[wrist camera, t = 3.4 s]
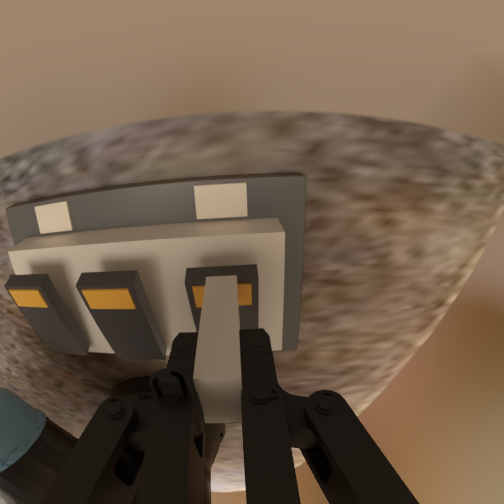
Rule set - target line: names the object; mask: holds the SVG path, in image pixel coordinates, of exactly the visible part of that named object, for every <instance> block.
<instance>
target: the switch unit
mask: <svg viewBox="0 0 504 504" xmlns="http://www.w3.org/2000/svg"><path fill="white" fill-rule="evenodd" d="M305 184H306V176H304V175H303V174H301V173H276V174H247V175H227V176H211V177H197V178H185V179H174V180H163V181H154V182H145V183H136V184H128V185H120V186H113V187H106V188H99V189H92V190H86V191H80V192H74V193H68V194H62V195H57V196H51V197H46V198H41V199H36V200H31V201H27V202H22V203H17V204H14V205H12V206H10V207H8V208H6V213H7V217H8V222H9V226H10V230H11V234H12V238H13V241H14V245H15V247H13V248H12V249H11V250H10V251H8V253H9V257H10V260H11V263H12V266H13V269H14V272H15V275H26V274H48V276H49V278H50V279H51V281H52V283H53V285H54V287H55V289H56V290H57V292H58V294H59V296H60V297H61V299H62V301H63V302H64V304H65V306H66V307H67V309H68V311H69V312H70V314H71V316H72V317H73V319H74V320H75V322H76V323H77V325H78V327H79V328H80V330H81V331H82V333H83V334H84V336H85V337H86V339H87V340H88V341H89V343H90V347H89V350H88V352H91V353H104V354H115V353H114V351H113V350H112V348H111V346H110V345H109V343H108V342H107V340H106V339H105V337H104V335H103V334H102V332H101V331H100V329H99V327H98V326H97V324H96V322H95V321H94V319H93V317H92V315H91V314H90V312H89V310H88V308H87V307H86V305H85V303H84V301H83V299H82V297H81V296H80V294H79V292H78V290H77V288H76V283H77V281H78V279H79V277H80V275H81V273H84V272H109V271H132V270H138V273H139V276H140V279H141V282H142V285H143V287H144V290H145V293H146V296H147V298H148V301H149V304H150V306H151V309H152V311H153V314H154V317H155V319H156V322H157V324H158V327H159V329H160V332H161V334H162V336H163V339H164V341H165V344H166V346H167V349H166V356H170V351H171V347H172V342H173V340H174V338H175V337H176V336H177V335H178V334H179V332H197V331H196V327H195V324H194V320H193V316H192V312H191V308H190V304H189V300H188V296H187V291H186V287H185V283H184V282H185V275H186V268H195V267H214V266H232V265H250V264H257V270H258V278H259V315H258V328H263V329H264V330H265V331H266V332H267V333H268V335H269V336H270V342H271V347H272V352H274V351H285V350H295V349H297V342H298V330H299V318H300V304H301V288H302V271H303V251H304V225H305ZM45 345H46V344H45ZM46 347H47V346H46Z"/></svg>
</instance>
